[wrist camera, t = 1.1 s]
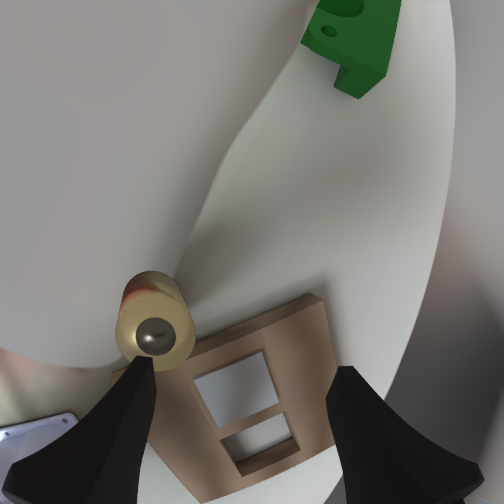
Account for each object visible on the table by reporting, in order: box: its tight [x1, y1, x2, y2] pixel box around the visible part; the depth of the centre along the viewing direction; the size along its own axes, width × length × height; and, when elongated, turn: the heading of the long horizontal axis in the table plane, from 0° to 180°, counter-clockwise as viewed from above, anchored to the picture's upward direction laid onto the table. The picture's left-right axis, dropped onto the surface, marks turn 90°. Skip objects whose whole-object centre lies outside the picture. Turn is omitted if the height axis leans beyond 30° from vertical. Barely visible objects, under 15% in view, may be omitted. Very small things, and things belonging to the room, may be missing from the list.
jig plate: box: [111, 293, 337, 504], centre depth 22 cm, size 16×16×2 cm
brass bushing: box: [115, 271, 196, 372], centre depth 17 cm, size 4×4×6 cm
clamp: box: [300, 0, 401, 99], centre depth 19 cm, size 12×6×9 cm, turn 152°
